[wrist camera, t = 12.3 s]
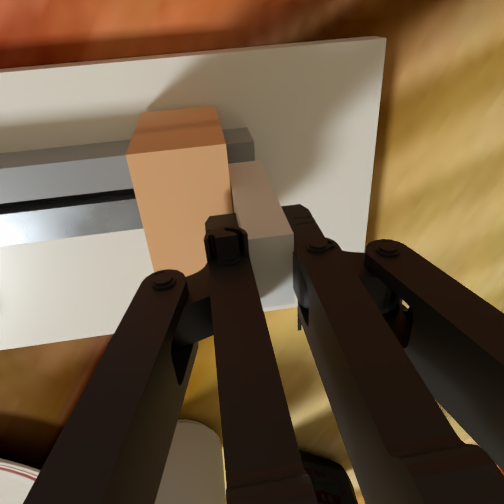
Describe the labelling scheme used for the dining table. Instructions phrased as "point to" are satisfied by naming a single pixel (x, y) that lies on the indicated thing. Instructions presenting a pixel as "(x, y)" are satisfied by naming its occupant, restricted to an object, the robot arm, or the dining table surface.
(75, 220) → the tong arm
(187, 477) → the can
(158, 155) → the tan wooden block
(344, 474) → the bottle
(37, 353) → the dining table surface
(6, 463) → the dinner plate
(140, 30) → the dining table surface
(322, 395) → the dining table surface
